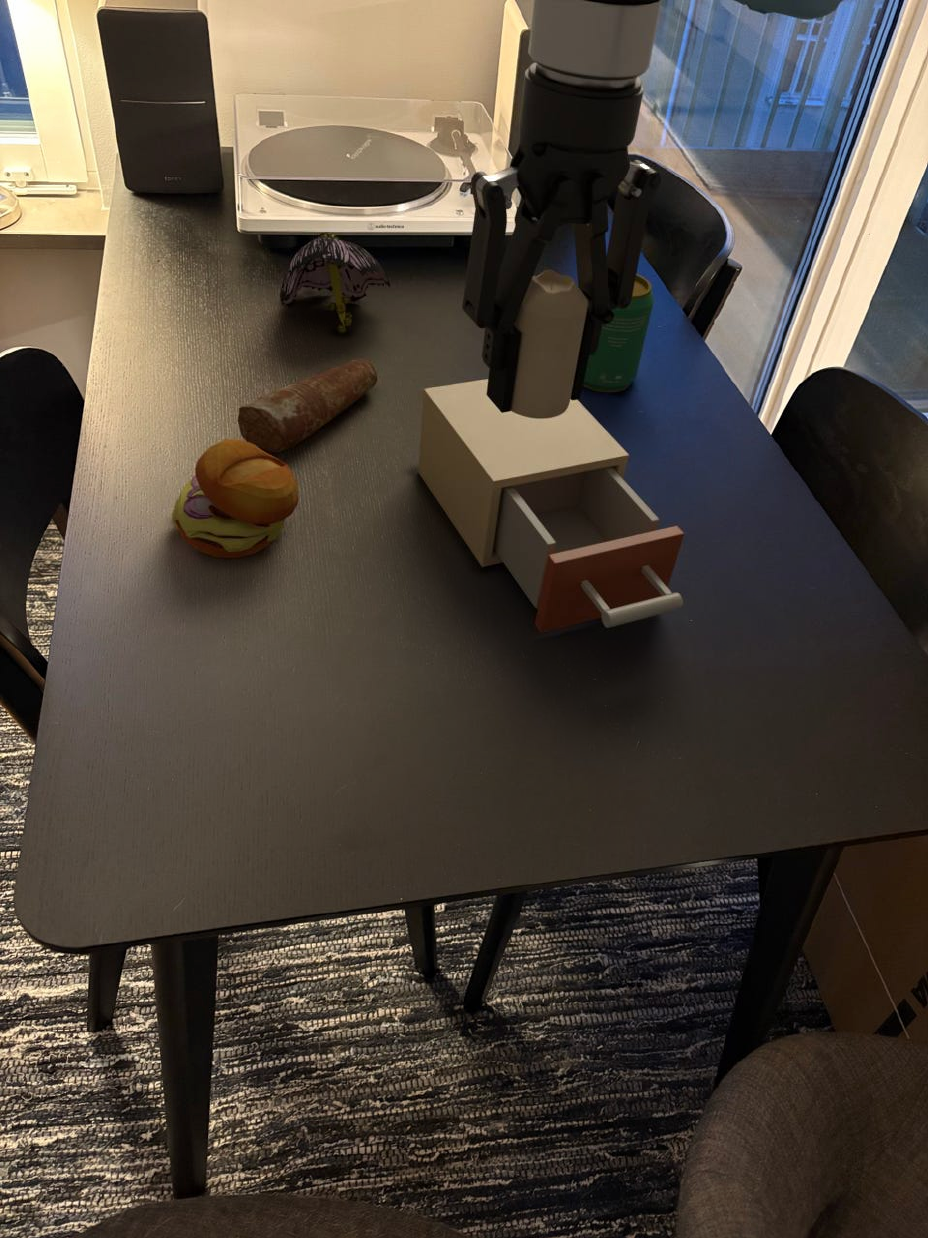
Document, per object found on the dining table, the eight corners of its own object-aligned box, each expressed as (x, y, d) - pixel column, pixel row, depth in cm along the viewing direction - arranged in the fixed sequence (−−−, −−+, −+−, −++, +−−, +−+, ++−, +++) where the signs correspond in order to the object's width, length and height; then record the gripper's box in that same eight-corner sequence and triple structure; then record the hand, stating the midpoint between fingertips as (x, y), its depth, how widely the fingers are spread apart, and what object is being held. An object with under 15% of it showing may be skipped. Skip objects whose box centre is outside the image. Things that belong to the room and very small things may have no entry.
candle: (503, 418, 74) (520, 293, 67) (496, 381, 78) (510, 259, 71) (574, 420, 74) (597, 297, 68) (563, 383, 78) (584, 263, 72)
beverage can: (633, 365, 121) (655, 272, 112) (635, 398, 115) (658, 302, 107) (570, 356, 121) (586, 263, 113) (568, 389, 115) (586, 293, 107)
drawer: (695, 640, 84) (720, 571, 79) (569, 675, 80) (586, 605, 74) (584, 507, 97) (599, 440, 91) (470, 531, 92) (478, 462, 87)
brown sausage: (233, 446, 101) (229, 399, 97) (351, 377, 113) (351, 333, 109) (279, 470, 98) (276, 422, 94) (394, 397, 110) (396, 352, 106)
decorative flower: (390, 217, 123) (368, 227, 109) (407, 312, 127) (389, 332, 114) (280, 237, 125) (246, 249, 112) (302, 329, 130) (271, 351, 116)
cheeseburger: (186, 490, 94) (201, 405, 88) (293, 522, 96) (316, 442, 90) (156, 555, 87) (170, 467, 80) (272, 589, 89) (296, 506, 82)
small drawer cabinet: (608, 538, 95) (629, 454, 88) (482, 567, 90) (493, 481, 83) (535, 450, 105) (549, 369, 98) (417, 472, 100) (423, 388, 93)
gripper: (675, 49, 66) (609, 357, 82) (425, 55, 59) (406, 389, 75) (741, 83, 61) (657, 403, 77) (477, 94, 54) (445, 442, 70)
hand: (533, 396), depth 76 cm, fingers closed on candle, 5 cm apart
